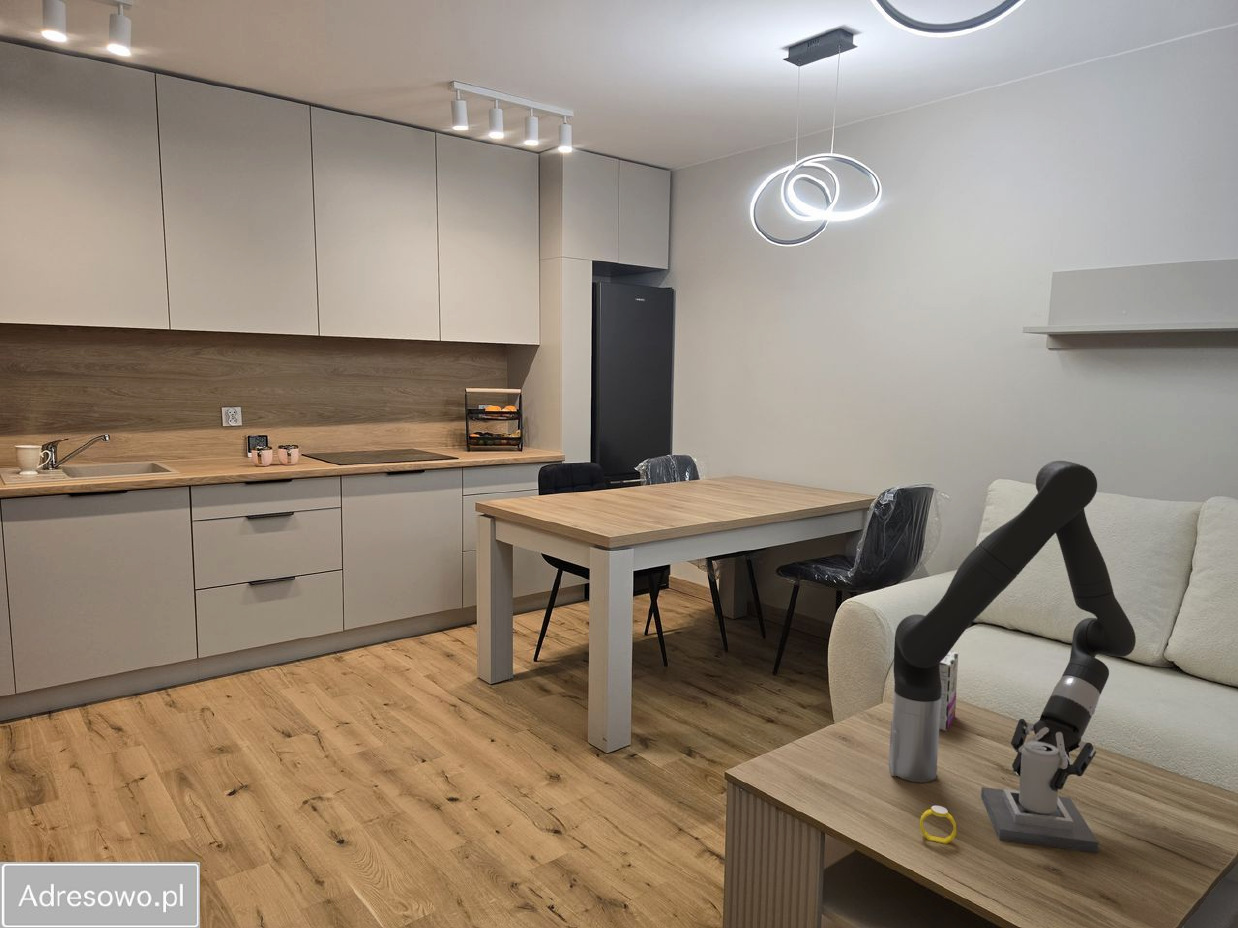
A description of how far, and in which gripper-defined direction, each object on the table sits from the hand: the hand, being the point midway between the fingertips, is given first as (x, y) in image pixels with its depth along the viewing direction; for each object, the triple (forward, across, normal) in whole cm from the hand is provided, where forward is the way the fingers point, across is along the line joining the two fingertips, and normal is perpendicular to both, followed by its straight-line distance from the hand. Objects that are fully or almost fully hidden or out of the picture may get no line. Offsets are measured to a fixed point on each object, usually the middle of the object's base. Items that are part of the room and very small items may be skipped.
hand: (1034, 780), depth 150 cm
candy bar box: (-14, -38, +26) cm, 48 cm away
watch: (+20, -7, -8) cm, 22 cm away
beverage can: (+3, 0, +6) cm, 6 cm away
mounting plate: (+5, 0, +7) cm, 9 cm away
